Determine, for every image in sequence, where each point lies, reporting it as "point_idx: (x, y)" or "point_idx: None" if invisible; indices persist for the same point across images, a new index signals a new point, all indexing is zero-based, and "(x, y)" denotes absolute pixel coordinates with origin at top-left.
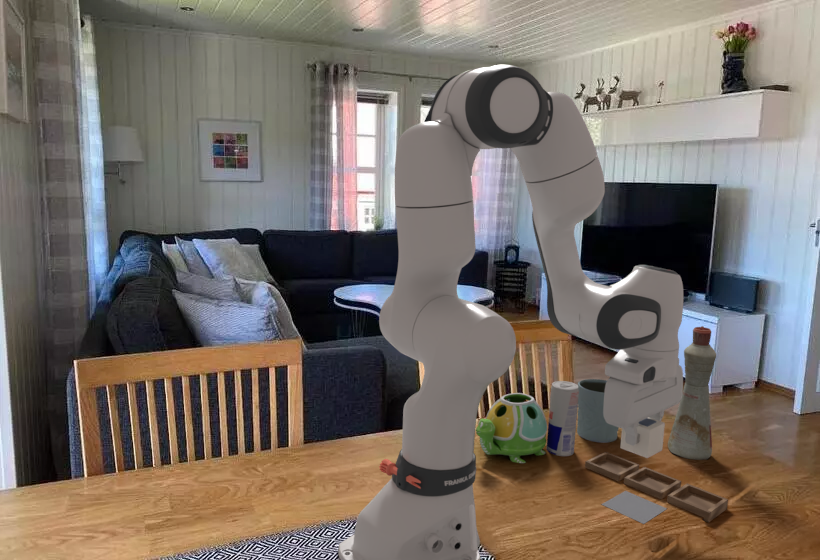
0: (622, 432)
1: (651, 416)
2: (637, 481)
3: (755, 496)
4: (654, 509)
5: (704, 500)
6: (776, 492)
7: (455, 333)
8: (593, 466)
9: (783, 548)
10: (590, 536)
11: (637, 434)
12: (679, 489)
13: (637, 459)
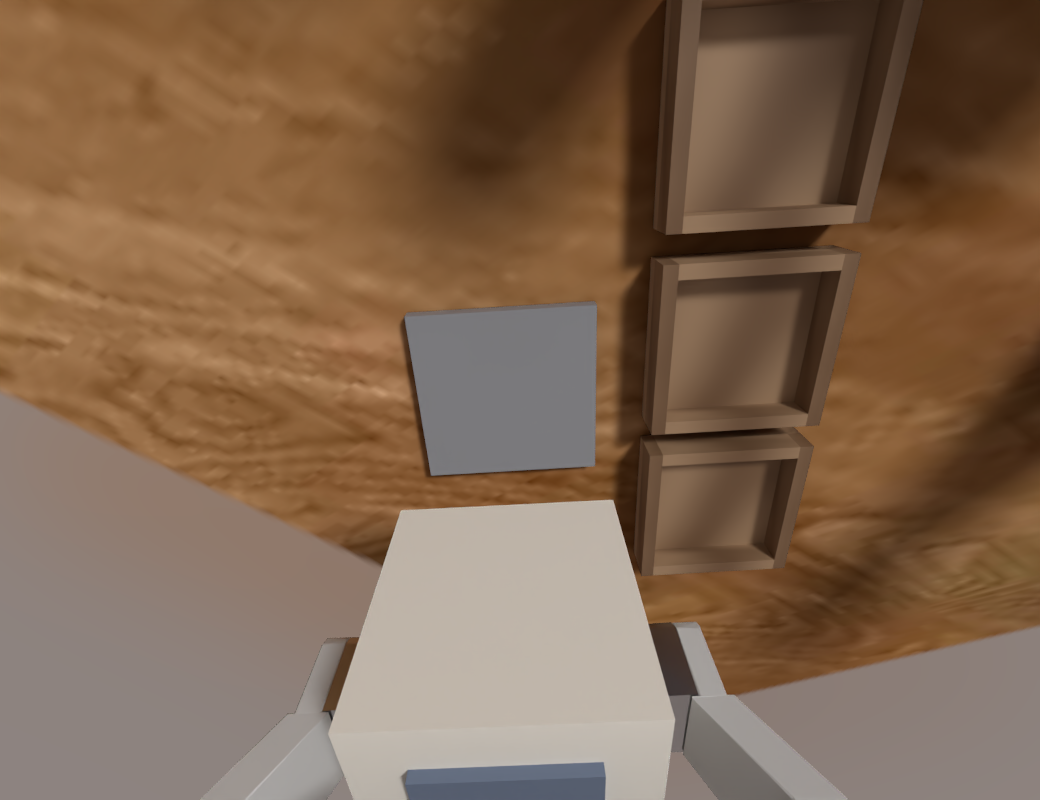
0: (366, 620)
1: (745, 771)
2: (671, 325)
3: (925, 552)
4: (550, 447)
5: (756, 502)
6: (1000, 571)
7: None
8: (675, 54)
9: None
10: (219, 408)
11: (340, 777)
12: (735, 456)
13: (1020, 106)
